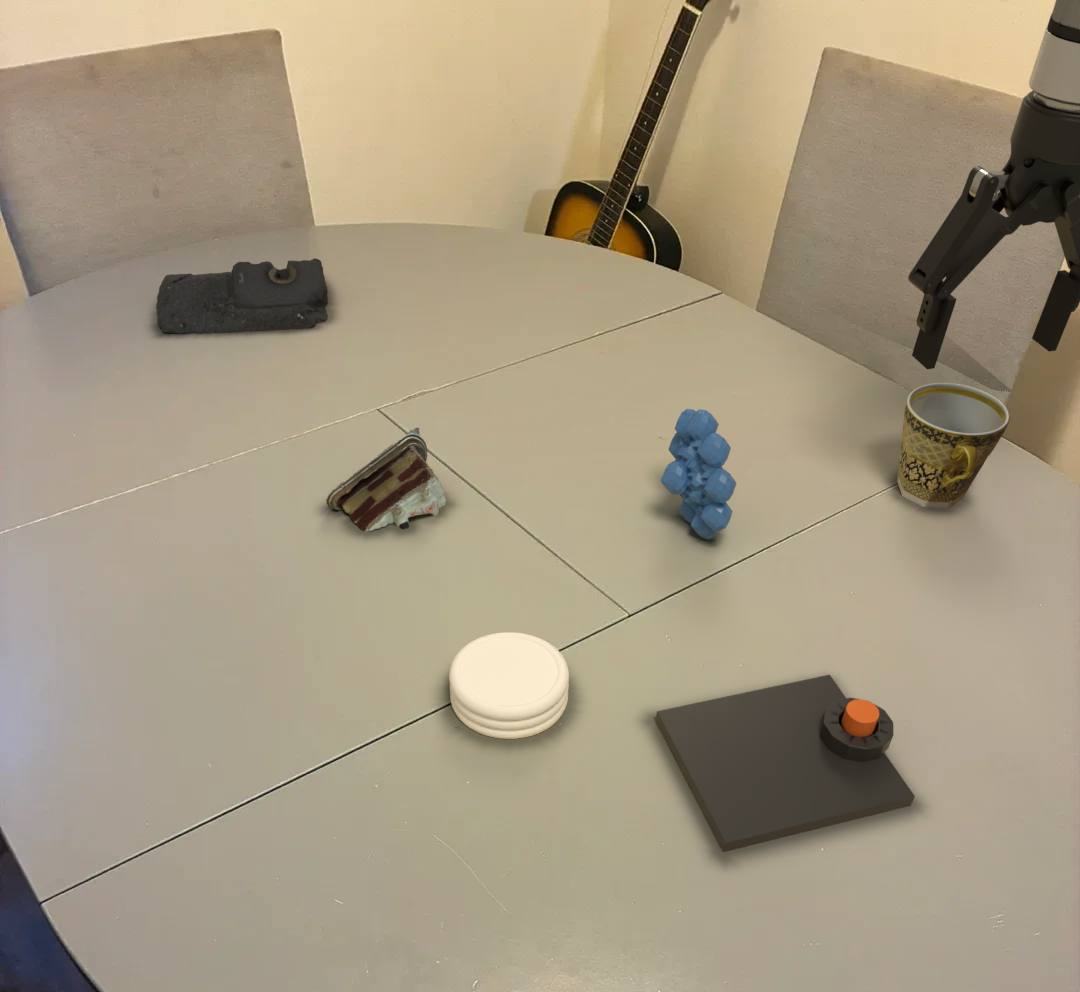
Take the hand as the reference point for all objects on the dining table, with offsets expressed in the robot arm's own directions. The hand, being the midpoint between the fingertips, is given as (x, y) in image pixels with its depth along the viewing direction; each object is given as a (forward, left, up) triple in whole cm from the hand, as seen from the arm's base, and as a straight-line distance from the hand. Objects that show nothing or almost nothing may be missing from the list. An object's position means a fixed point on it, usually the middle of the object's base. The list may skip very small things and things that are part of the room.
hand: (984, 353), depth 97 cm
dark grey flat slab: (+32, +29, -17) cm, 46 cm away
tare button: (+26, +29, -14) cm, 41 cm away
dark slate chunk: (+65, -63, -17) cm, 92 cm away
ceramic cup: (0, 0, -17) cm, 17 cm away
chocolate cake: (+55, -13, -17) cm, 59 cm away
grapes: (+27, -3, -17) cm, 32 cm away
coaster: (+51, +16, -17) cm, 56 cm away
